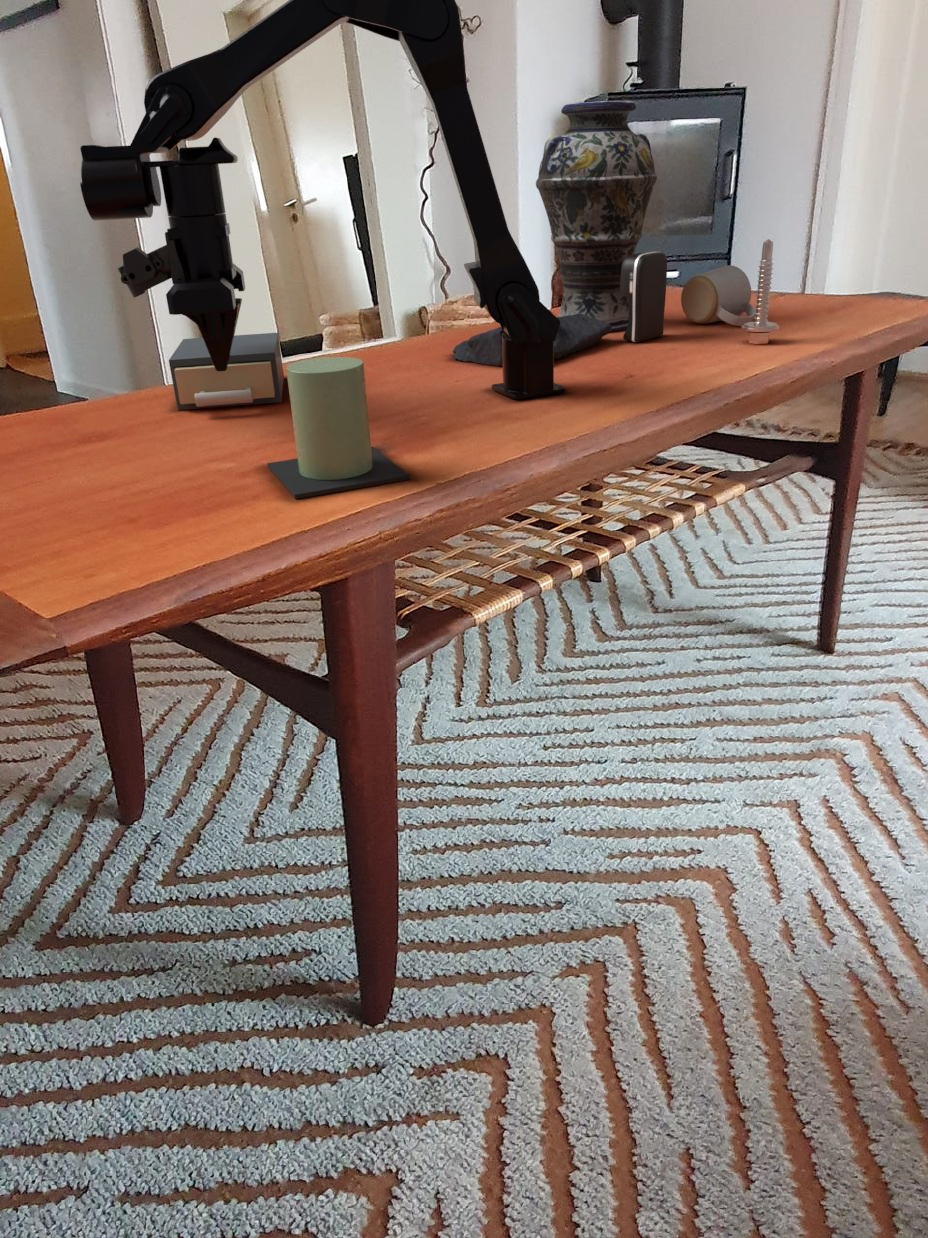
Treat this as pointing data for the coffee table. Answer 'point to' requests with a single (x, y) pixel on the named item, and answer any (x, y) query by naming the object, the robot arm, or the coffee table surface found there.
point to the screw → (762, 300)
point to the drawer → (225, 383)
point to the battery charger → (644, 294)
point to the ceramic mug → (718, 297)
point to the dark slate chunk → (569, 339)
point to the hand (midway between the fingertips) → (221, 370)
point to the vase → (596, 205)
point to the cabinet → (232, 361)
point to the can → (330, 417)
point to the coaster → (308, 487)
